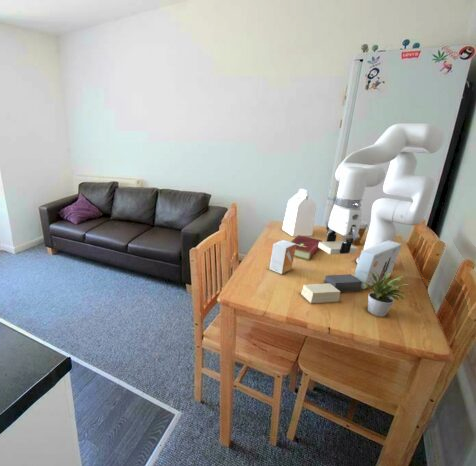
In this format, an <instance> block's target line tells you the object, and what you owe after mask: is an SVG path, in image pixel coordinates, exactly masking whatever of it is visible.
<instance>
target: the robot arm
mask: <svg viewBox="0 0 476 466" xmlns="http://www.w3.org/2000/svg"><path fill="white" fill-rule="evenodd" d="M444 142H445V134H444V131H442V130H441V129H440V128H439V127H438V126H436V125H434V124H432V123H428V122H427V123H426V122H424V123H420V122H419V123H418V122H417V123H415V122H413V123H412V122H411V123H409V122H407V123H406V122H404V123H403V122H401V123H396V124H395V123H394V124H393V125H391V126H389V127H388V128H387V129H386V130H385V131H384V132H383V133H382V135H380V137H379V138H378V139H377V140H376V141H375V143H373V144H372V145H368V146H366V147H363V148H360V149H358V150H355V151H353V152H351V153H350V154H348V155H347V156H346V157H345V158H344V159H343V160H342V161H341V162H340V164H339V165H338V167H337V169H336V170H335V173H334V175H335V176H334V177H335V180H336V181H337V182H339V183H338V188H337V193H336V197H335V201H334V204H333V207H332V208H331V212H330V215H329V217H328V220H326V221H325V225H326V231H327V232H326V235H327V236H326V239H325V242H329V241H337V237H338V234H339V235H341V236H342V241H344V243H342V245H341V249H340V253H349V252H350V248H351V244H352V243H354V242H355V241H356V240H357V239H359V238H360V236H359V234H358V232H359V228H360V223H361V221H362V208H361V206H362V202H363V198H364V194H365V190H366V188H374V187H377V186H379V185H381V184H382V183H383V186H382V192H383V193H384V194H386V195H388V196H393V197H400V198H405V199H411V200H412V201H408V200H402V199H396V198H391V197H382V198H381V197H380V198H378V199H376V200H375V201H374V202H373V203H372V206H371V213H370V214H371V215H370V223H369V226H368V231H367V234H366V238H365V241H364V245H363V249H362V250H364V249H367V248H370V247H372V246H375V245H378V244H380V243H383V242H385V241H388V240H390V241H393V242H395V241H394V240H395V238H396V234H397V228H396V226H395V224H394V223H397V224H402V225H408V226H419V225H420V224H421V223H422V222H423V220H424V218H425V216H426V213H427V210H428V208H429V204H430V202H431V199H432V197H433V195H434V194H433V193H434V191H435V184H436V183H435V179H434V178H432V177H430V176H426V175H418V174H415V171H416V168H417V167H418V159H417V157H416V155H415V154H435V153H436V152H438V151H439V150H440V149H441V148H442V147H443V145H444ZM389 162H390V163H389ZM385 163H386V164H387V163H389V166H388V169H387V171H385V170H386V169H384V167H382V166H380V164H385ZM383 181H384V182H383ZM348 233H349V235H347V234H348ZM348 236H349V239H348V240H347V237H348ZM359 258H360V256H358V257H357V258H356V260H355V262H356V263H357V264H358V261H359ZM397 261H398V258H397V259H396V262H397Z"/></svg>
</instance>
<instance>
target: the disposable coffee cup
mask: <svg viewBox="0 0 476 466" xmlns="http://www.w3.org/2000/svg"><path fill="white" fill-rule="evenodd" d="M367 228H369V225H368V222H366V221H364V220H361V223H360V228H359V232H358V234H359V236H360V238H359V239H357V240H356V241H355V242H354V243H352V244H351V245H353V246H358V245H360V243H361V241H362V239H363V236H364V234H365V232H366V229H367ZM347 235H349V233H348V234H347ZM348 239H349V236H348V237H347V240H348Z"/></svg>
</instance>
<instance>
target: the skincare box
mask: <svg viewBox="0 0 476 466" xmlns="http://www.w3.org/2000/svg"><path fill="white" fill-rule="evenodd" d="M402 246H403V244H402V243H399V242H397V241H390V240H388V241H385V242H383V243H380V244H378V245H375V246H372V247H370V248H367V249H364V248H363V249H364V250H363V249H362V250H361V252H360V255H359V257H360V258H359V261H358V263H357V264H356V268H355V271H354V273H353V276H354V277H356V278H357V279H359V280H360V281H362V283H361V290H366V289H368V288H367V287H364V285H363V284H369V285H370V286H372V287H373V286H374V284H373V283H372V282H373V281H374V283H375V284H376V282H375V280H374V278H373V276H372V274H371V273H372V272H373V273H374V275H375V276H376V278H377V280H379V278H380V281H381V282H383V281H384V275H385V272H386V274H387V275H388V273H390V272H391V273H390V274H389V276H388V278H390V277H391V275H392V272H393V270H394V267H395V264H396V262H397V261H396V259H397V260H398V256H399V254H400V251H401V247H402ZM359 270H360V271H359ZM362 271H364V272H362ZM371 271H372V272H371ZM374 271H375V272H374ZM365 272H366V273H365ZM370 272H371V273H370ZM368 274H369V275H370V276H369V275H368ZM377 274H378V275H379V278H378V275H377ZM370 281H371V282H370Z"/></svg>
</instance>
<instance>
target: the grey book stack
mask: <svg viewBox="0 0 476 466" xmlns="http://www.w3.org/2000/svg"><path fill="white" fill-rule="evenodd" d="M326 283H330V284H331V285H333V286H334V287H335V288H336V289H338V290H339V291H340V293H352V292H353V293H354V292H355V293H356V292H361V290H362V288H361V283H362V281H360V280H359V279H357V278H356V277H354V274H353V275H352V274H351V273H350V274H349V273H348V274H346V273H345V274H328V275H327V274H326V275H325V277H324V280H323V283H322V284H326Z"/></svg>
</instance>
